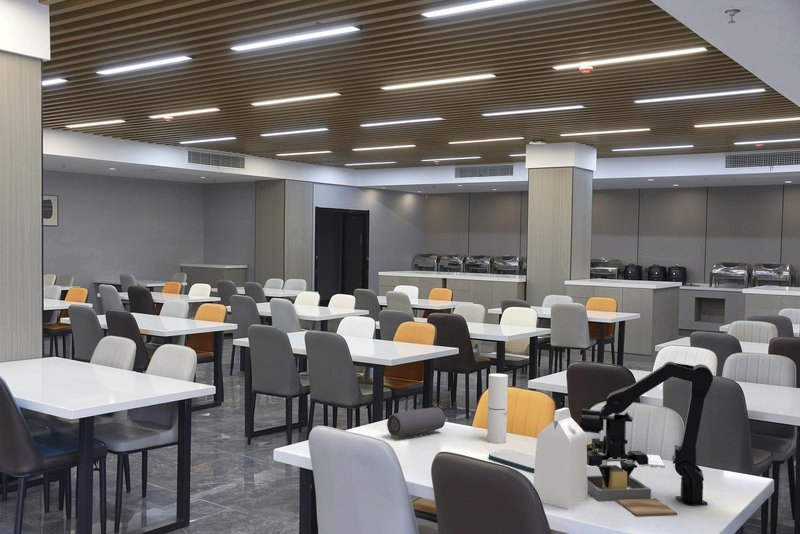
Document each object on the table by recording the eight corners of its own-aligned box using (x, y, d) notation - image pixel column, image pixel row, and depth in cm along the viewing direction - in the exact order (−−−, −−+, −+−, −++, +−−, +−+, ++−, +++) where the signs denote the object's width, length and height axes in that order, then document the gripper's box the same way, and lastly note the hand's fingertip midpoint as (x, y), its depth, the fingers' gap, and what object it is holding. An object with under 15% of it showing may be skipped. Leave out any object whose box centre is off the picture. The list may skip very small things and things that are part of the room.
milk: (551, 489, 221) (553, 403, 221) (587, 498, 214) (589, 409, 214) (532, 499, 212) (534, 409, 212) (568, 508, 205) (571, 415, 204)
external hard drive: (561, 470, 243) (561, 464, 243) (538, 476, 236) (538, 470, 236) (507, 454, 262) (507, 448, 261) (484, 459, 254) (484, 454, 254)
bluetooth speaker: (429, 429, 296) (430, 404, 295) (445, 433, 288) (446, 408, 288) (385, 437, 281) (386, 411, 281) (401, 442, 274) (401, 415, 274)
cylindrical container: (483, 439, 280) (485, 374, 280) (499, 438, 283) (501, 373, 283) (493, 444, 274) (495, 377, 273) (510, 442, 277) (511, 376, 276)
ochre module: (626, 495, 217) (627, 470, 217) (612, 496, 216) (612, 471, 216) (616, 488, 224) (616, 464, 224) (602, 488, 223) (602, 464, 223)
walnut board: (677, 514, 202) (677, 512, 202) (636, 516, 200) (636, 514, 200) (655, 500, 213) (655, 498, 213) (616, 501, 212) (616, 499, 212)
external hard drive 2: (659, 459, 259) (664, 469, 247) (635, 458, 261) (639, 467, 249) (659, 455, 259) (665, 464, 247) (635, 453, 261) (639, 463, 249)
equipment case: (650, 499, 214) (650, 489, 214) (598, 501, 212) (598, 490, 212) (608, 470, 242) (608, 461, 242) (561, 471, 240) (562, 462, 240)
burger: (572, 462, 252) (572, 440, 252) (572, 453, 264) (573, 432, 264) (608, 465, 250) (609, 443, 249) (607, 456, 261) (607, 435, 261)
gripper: (632, 427, 229) (631, 477, 229) (575, 429, 226) (574, 479, 226) (650, 436, 218) (648, 489, 218) (590, 438, 215) (588, 491, 215)
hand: (614, 486), depth 220 cm, fingers closed on ochre module, 4 cm apart
